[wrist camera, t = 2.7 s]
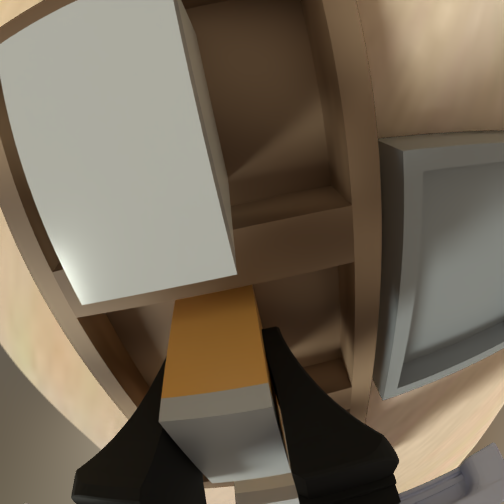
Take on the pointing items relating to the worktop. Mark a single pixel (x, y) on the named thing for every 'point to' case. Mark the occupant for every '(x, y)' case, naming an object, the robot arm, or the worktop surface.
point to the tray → (439, 256)
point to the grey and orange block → (222, 389)
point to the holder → (252, 200)
